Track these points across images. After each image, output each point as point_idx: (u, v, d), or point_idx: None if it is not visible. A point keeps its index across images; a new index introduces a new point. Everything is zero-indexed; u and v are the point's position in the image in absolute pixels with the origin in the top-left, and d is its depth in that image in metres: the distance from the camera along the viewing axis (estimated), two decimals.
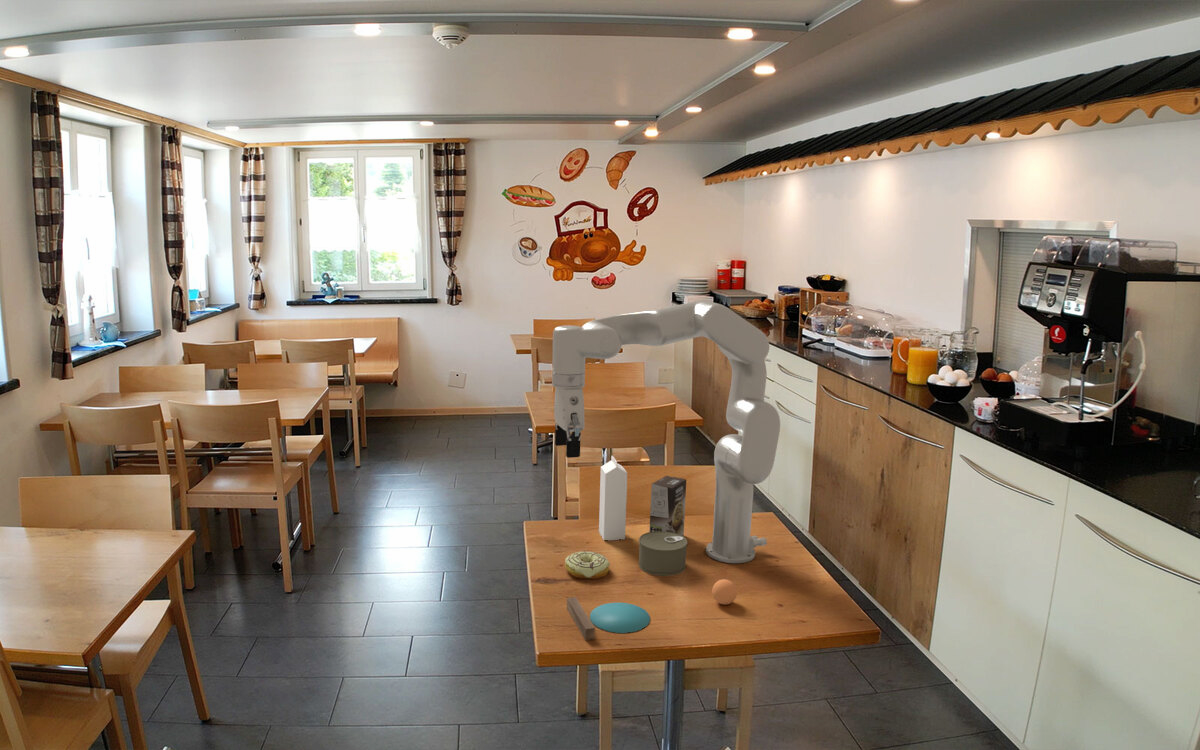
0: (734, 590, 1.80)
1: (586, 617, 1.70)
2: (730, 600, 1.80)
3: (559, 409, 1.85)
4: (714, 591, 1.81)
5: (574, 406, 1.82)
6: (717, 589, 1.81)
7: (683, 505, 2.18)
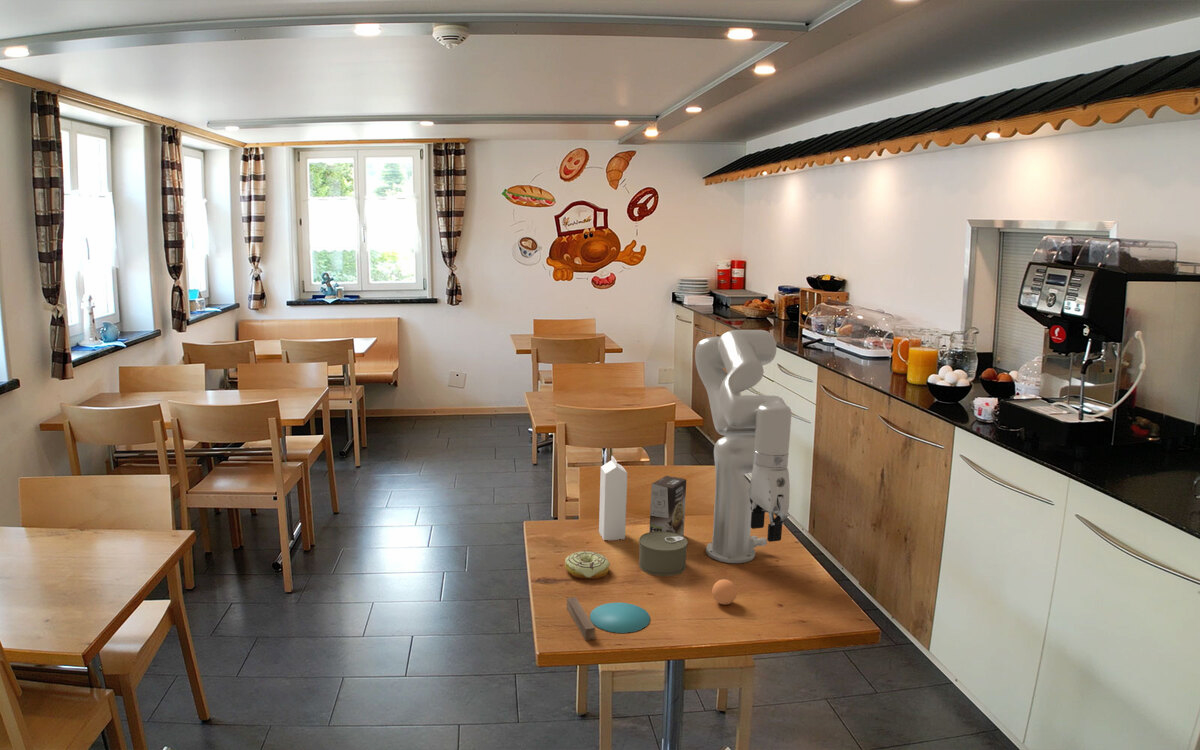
0: (734, 590, 1.80)
1: (586, 617, 1.70)
2: (730, 600, 1.80)
3: (762, 490, 1.78)
4: (714, 591, 1.81)
5: (781, 488, 1.76)
6: (717, 589, 1.81)
7: (683, 505, 2.18)
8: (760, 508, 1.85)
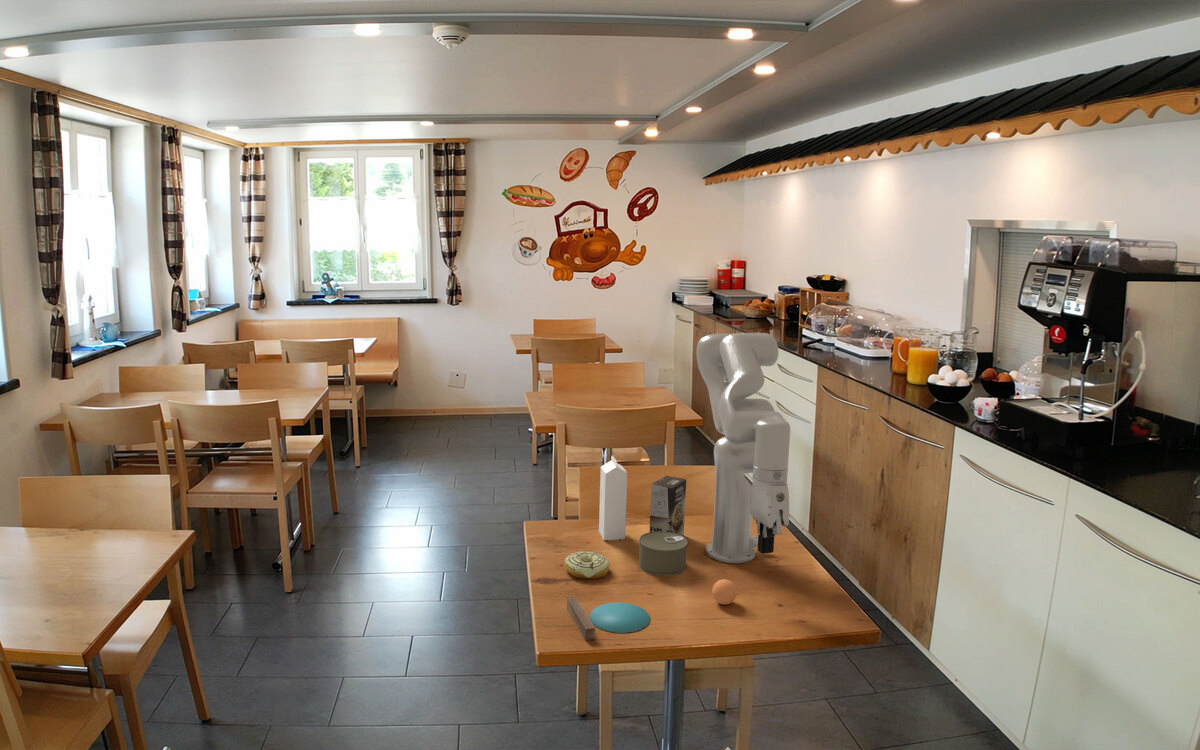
0: (734, 590, 1.80)
1: (586, 617, 1.70)
2: (730, 600, 1.80)
3: (761, 505, 1.79)
4: (714, 591, 1.81)
5: (780, 503, 1.76)
6: (717, 589, 1.81)
7: (683, 505, 2.18)
8: None
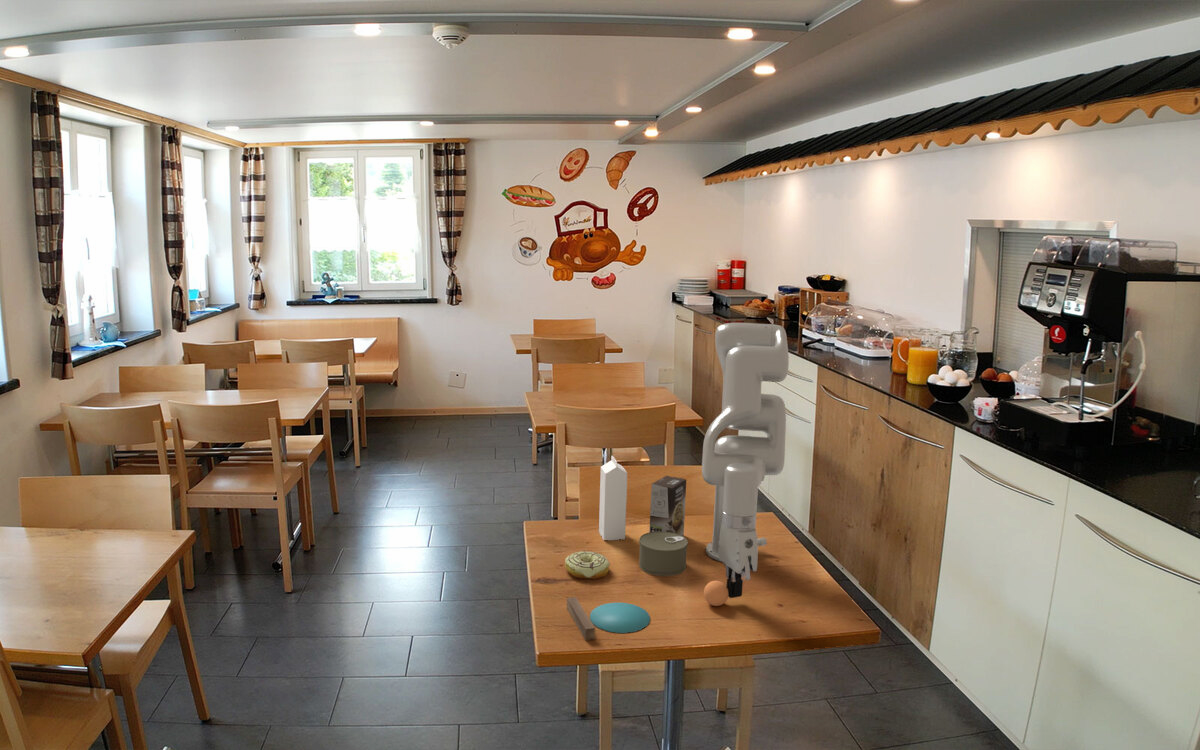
0: (722, 590, 1.79)
1: (586, 617, 1.70)
2: (723, 600, 1.79)
3: (730, 550, 1.78)
4: (706, 599, 1.81)
5: (749, 549, 1.76)
6: (707, 597, 1.80)
7: (683, 505, 2.18)
8: None
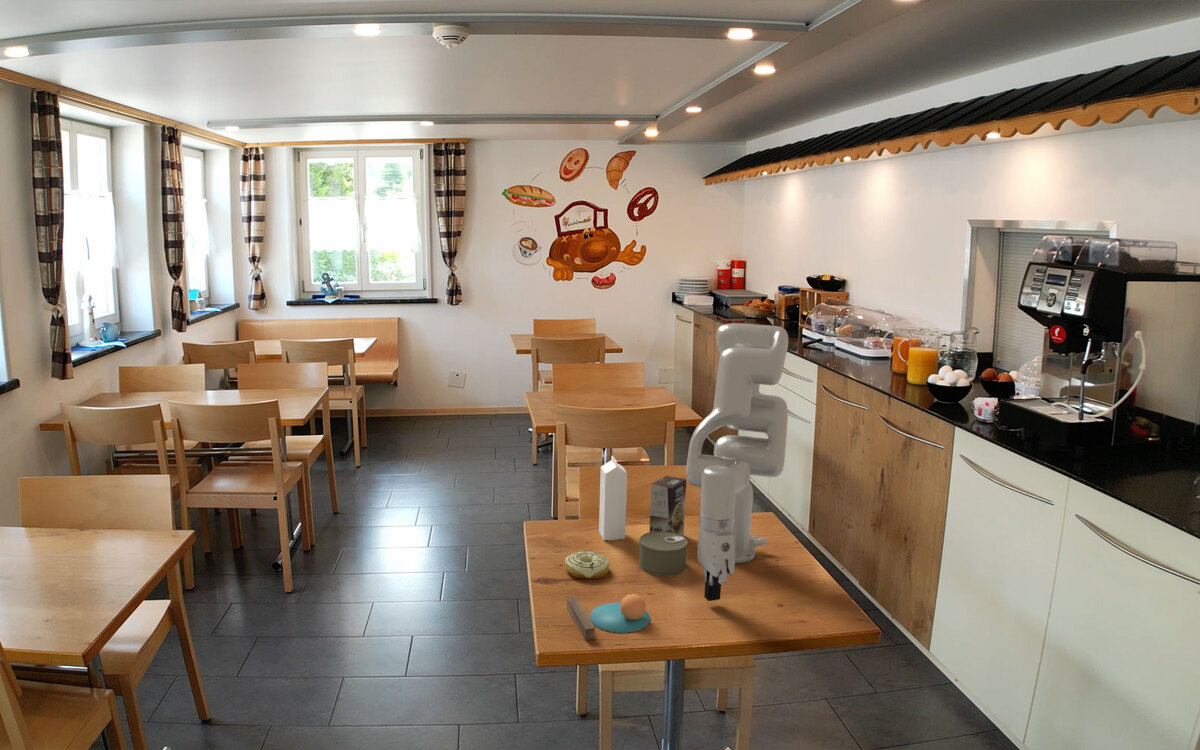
0: (631, 608, 1.71)
1: (586, 617, 1.70)
2: (641, 611, 1.72)
3: (707, 553, 1.77)
4: None
5: (725, 552, 1.74)
6: None
7: (683, 505, 2.18)
8: (714, 576, 1.81)
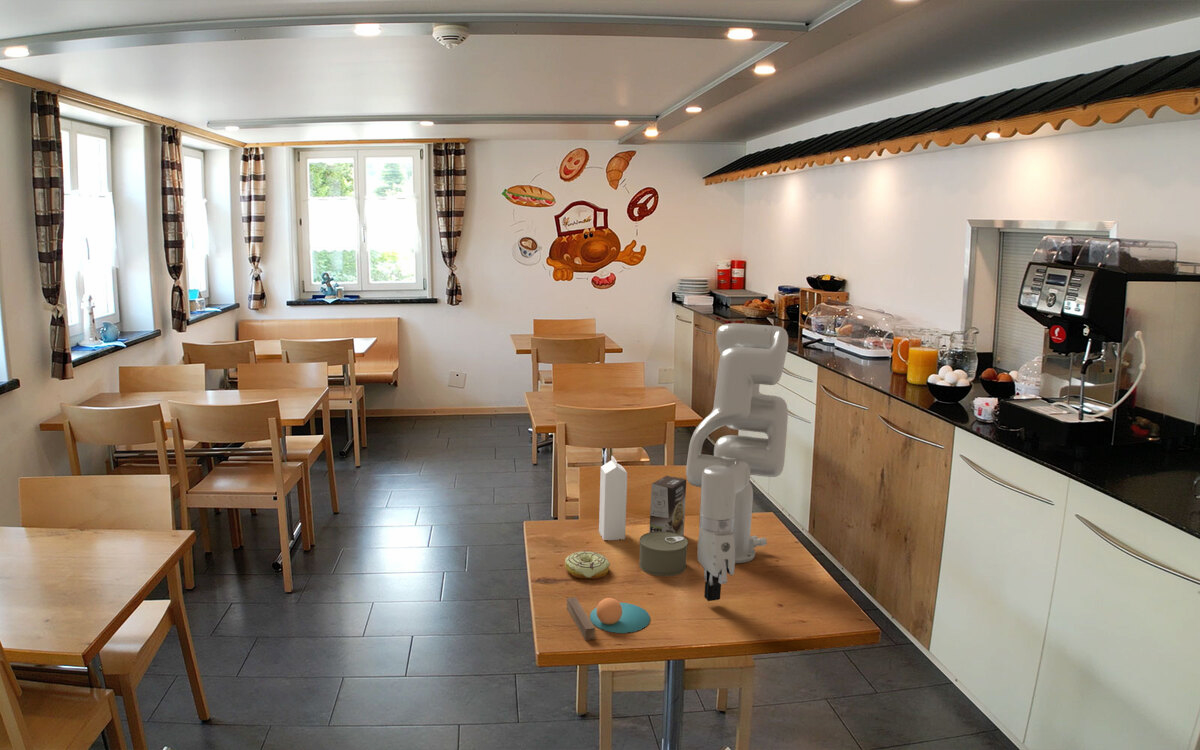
0: (611, 623, 1.70)
1: (586, 617, 1.70)
2: (611, 614, 1.69)
3: (707, 553, 1.77)
4: None
5: (725, 552, 1.74)
6: (621, 609, 1.72)
7: (683, 505, 2.18)
8: (714, 576, 1.81)
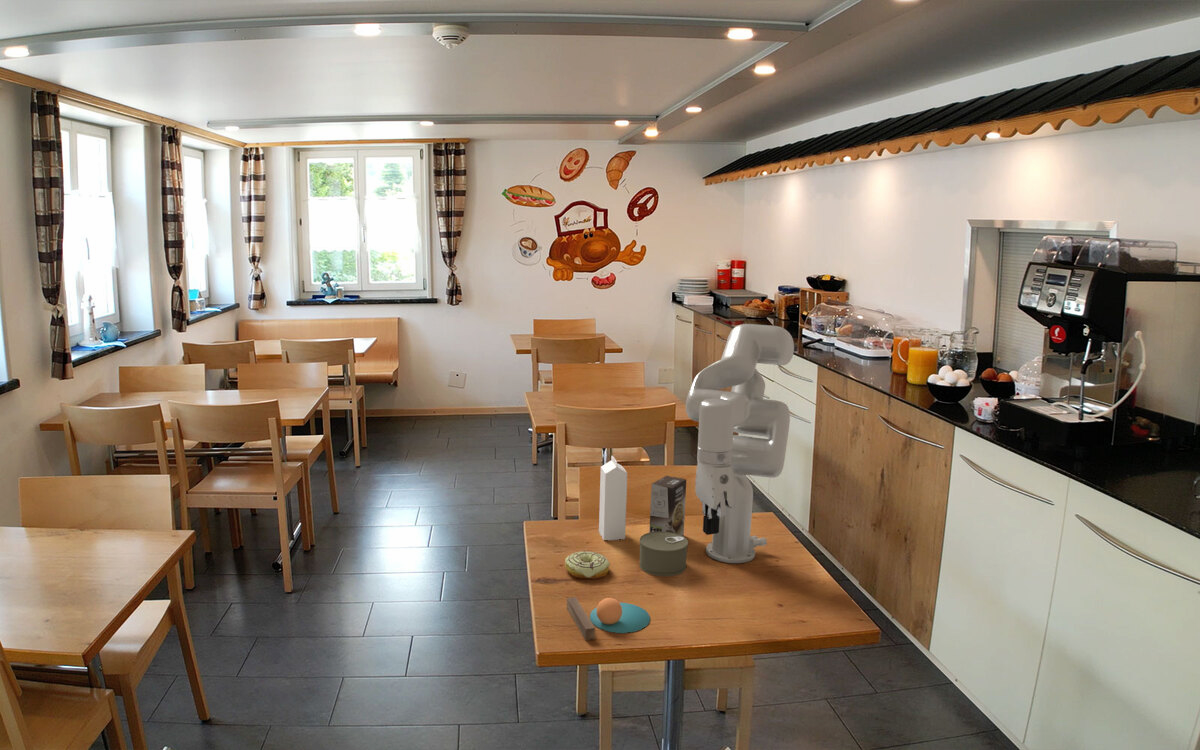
0: (611, 623, 1.70)
1: (586, 617, 1.70)
2: (611, 614, 1.69)
3: (706, 486, 1.76)
4: None
5: (724, 485, 1.74)
6: (621, 609, 1.72)
7: (683, 505, 2.18)
8: None
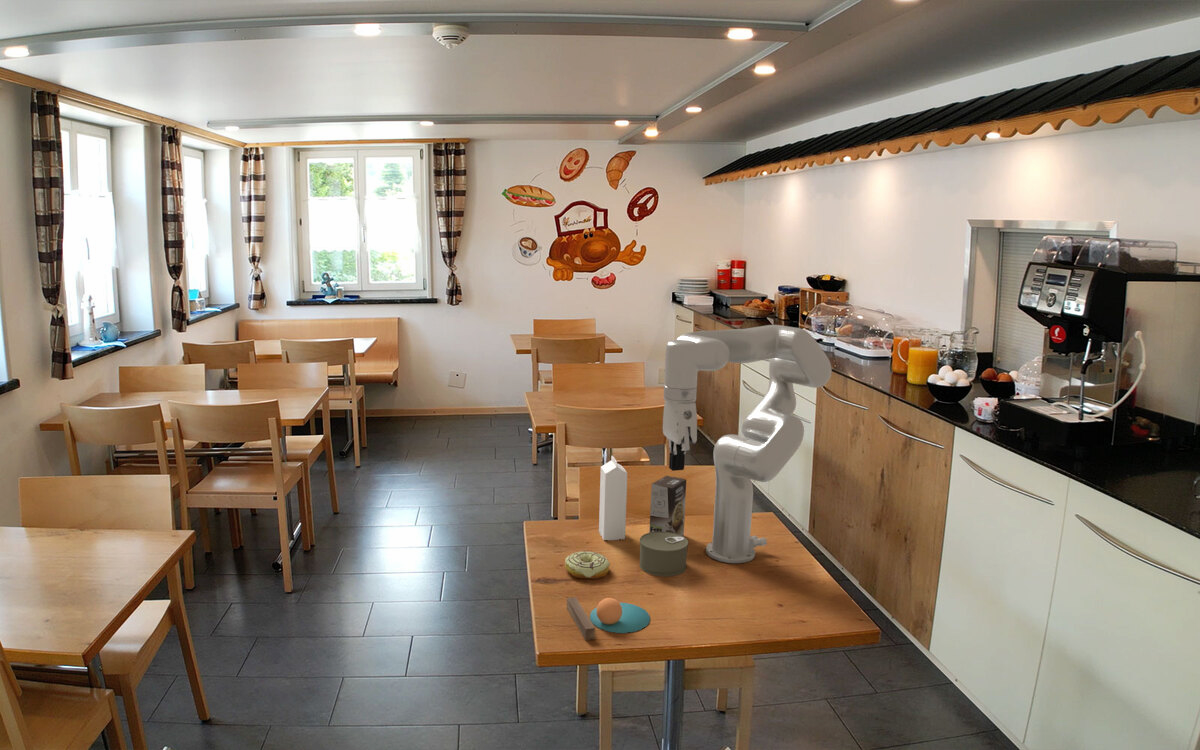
0: (611, 623, 1.70)
1: (586, 617, 1.70)
2: (611, 614, 1.69)
3: (671, 423, 1.86)
4: None
5: (688, 420, 1.83)
6: (621, 609, 1.72)
7: (683, 505, 2.18)
8: None
